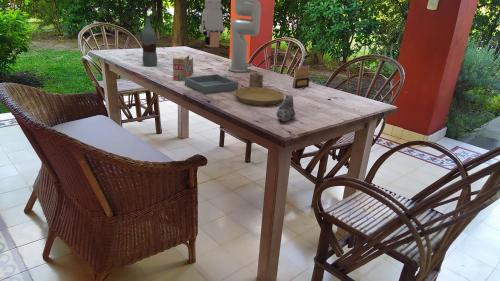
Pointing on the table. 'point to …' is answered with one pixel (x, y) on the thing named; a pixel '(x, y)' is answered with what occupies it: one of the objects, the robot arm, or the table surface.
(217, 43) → the terracotta block
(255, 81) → the walnut block
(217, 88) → the tray
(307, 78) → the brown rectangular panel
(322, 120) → the table surface
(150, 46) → the bottle
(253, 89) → the plant saucer
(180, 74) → the stack of blocks
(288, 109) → the mineral rock
